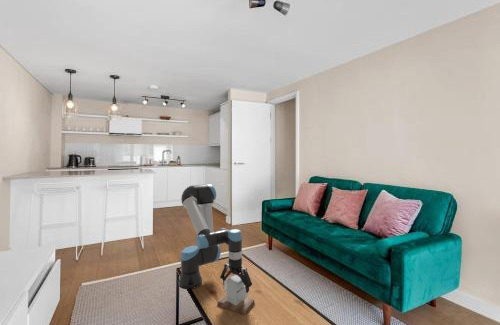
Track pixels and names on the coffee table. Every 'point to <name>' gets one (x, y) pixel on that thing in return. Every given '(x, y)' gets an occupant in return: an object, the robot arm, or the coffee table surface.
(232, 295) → the supplement box
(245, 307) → the walnut board
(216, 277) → the coffee table surface
